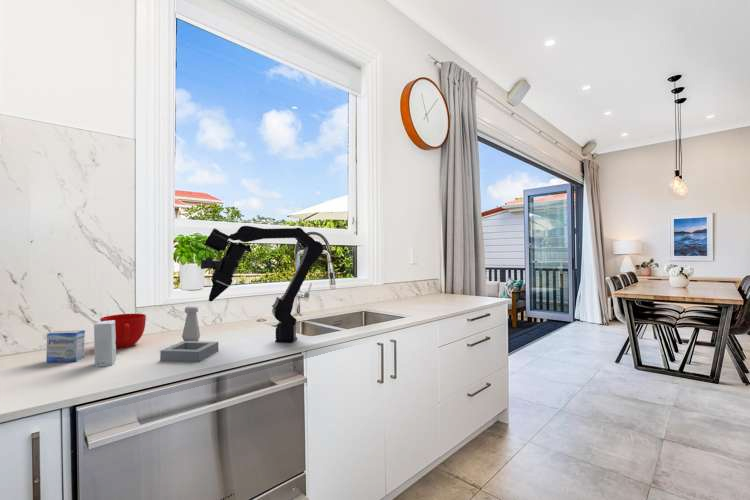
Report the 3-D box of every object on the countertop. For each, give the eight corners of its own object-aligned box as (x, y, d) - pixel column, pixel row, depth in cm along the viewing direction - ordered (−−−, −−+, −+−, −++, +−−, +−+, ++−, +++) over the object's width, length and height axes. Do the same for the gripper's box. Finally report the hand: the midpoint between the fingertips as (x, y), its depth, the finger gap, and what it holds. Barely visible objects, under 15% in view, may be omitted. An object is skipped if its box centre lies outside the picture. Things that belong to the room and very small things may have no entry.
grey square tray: (218, 350, 123) (218, 341, 123) (199, 361, 111) (199, 351, 111) (183, 349, 124) (183, 340, 124) (160, 360, 112) (160, 350, 112)
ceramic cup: (102, 355, 116) (102, 323, 116) (99, 344, 130) (99, 316, 130) (150, 349, 125) (150, 319, 125) (143, 339, 138) (143, 312, 138)
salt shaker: (192, 344, 130) (193, 307, 130) (178, 343, 132) (178, 307, 132) (203, 340, 136) (203, 305, 136) (189, 339, 137) (190, 304, 137)
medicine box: (45, 363, 109) (45, 333, 109) (55, 358, 113) (55, 330, 113) (76, 362, 110) (76, 332, 110) (85, 357, 114) (85, 329, 114)
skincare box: (112, 365, 107) (112, 323, 107) (93, 367, 105) (93, 324, 105) (116, 359, 112) (116, 319, 112) (98, 361, 110) (98, 320, 110)
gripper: (210, 248, 136) (188, 287, 134) (209, 248, 119) (184, 292, 116) (239, 261, 140) (218, 299, 137) (242, 263, 123) (218, 306, 120)
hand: (210, 299), depth 128 cm, fingers open, 9 cm apart
